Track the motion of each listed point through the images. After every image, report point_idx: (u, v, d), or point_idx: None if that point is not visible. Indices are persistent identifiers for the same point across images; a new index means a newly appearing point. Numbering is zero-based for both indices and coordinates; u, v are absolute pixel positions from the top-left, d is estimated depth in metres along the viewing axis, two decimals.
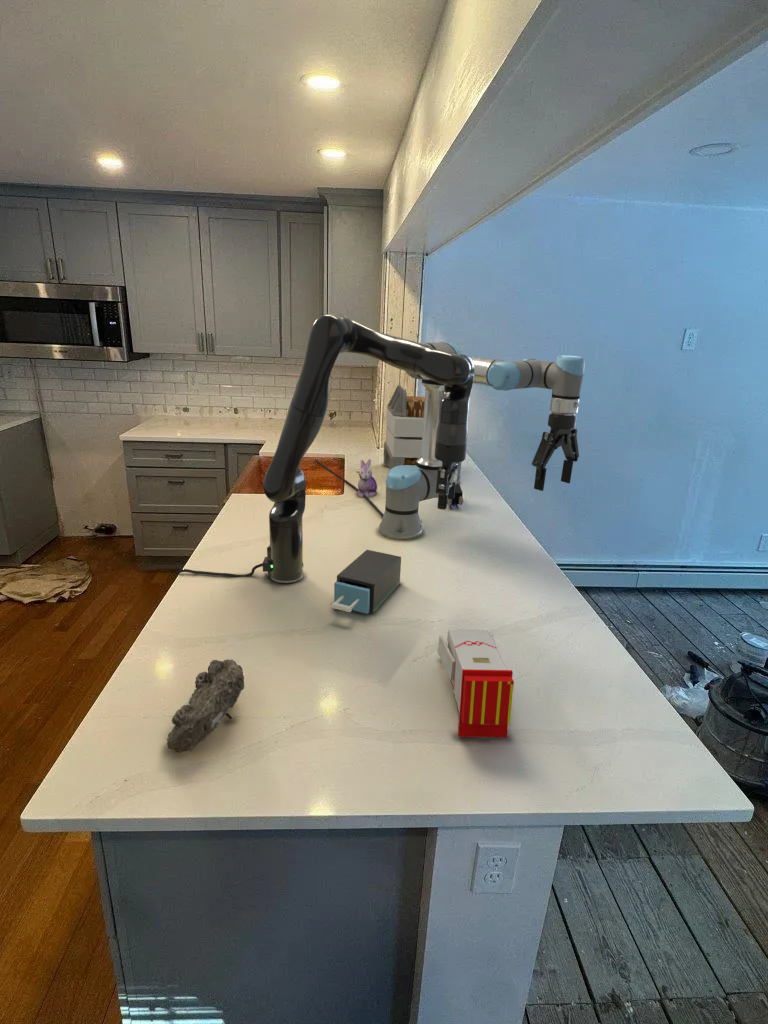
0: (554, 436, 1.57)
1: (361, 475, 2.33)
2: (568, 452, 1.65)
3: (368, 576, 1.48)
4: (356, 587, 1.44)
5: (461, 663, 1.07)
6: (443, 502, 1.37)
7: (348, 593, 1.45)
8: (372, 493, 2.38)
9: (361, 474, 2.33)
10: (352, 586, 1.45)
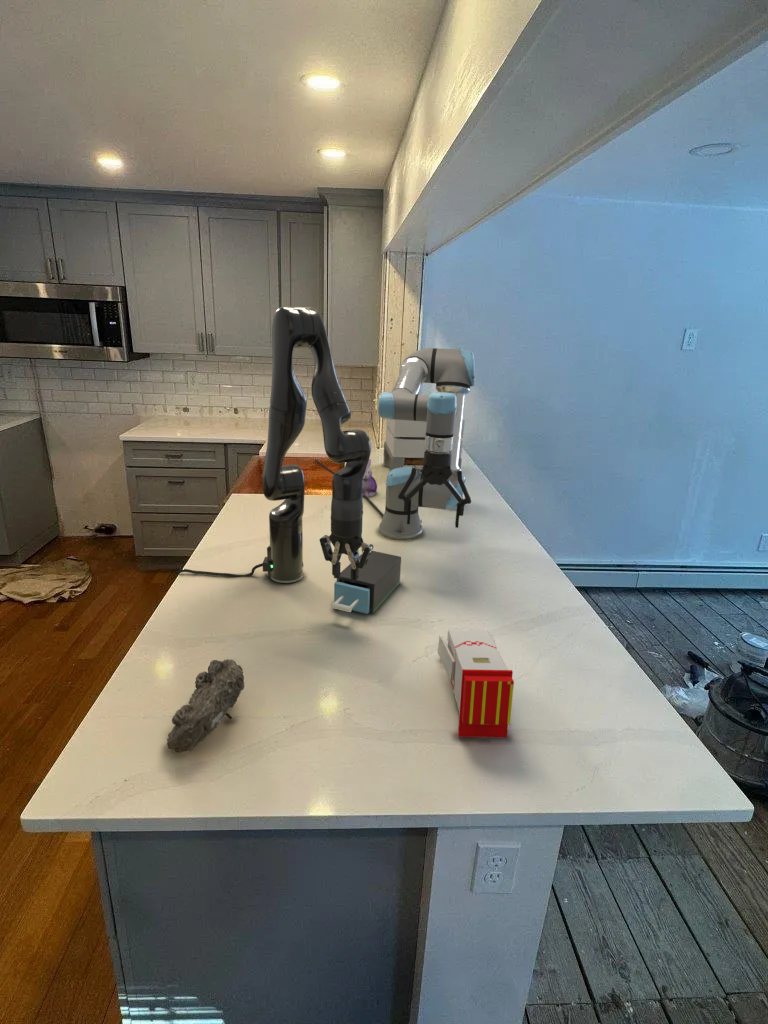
0: (421, 472, 1.55)
1: None
2: None
3: (368, 576, 1.48)
4: (356, 587, 1.44)
5: (461, 663, 1.07)
6: (358, 573, 1.39)
7: (348, 593, 1.45)
8: (372, 493, 2.38)
9: None
10: (352, 586, 1.45)
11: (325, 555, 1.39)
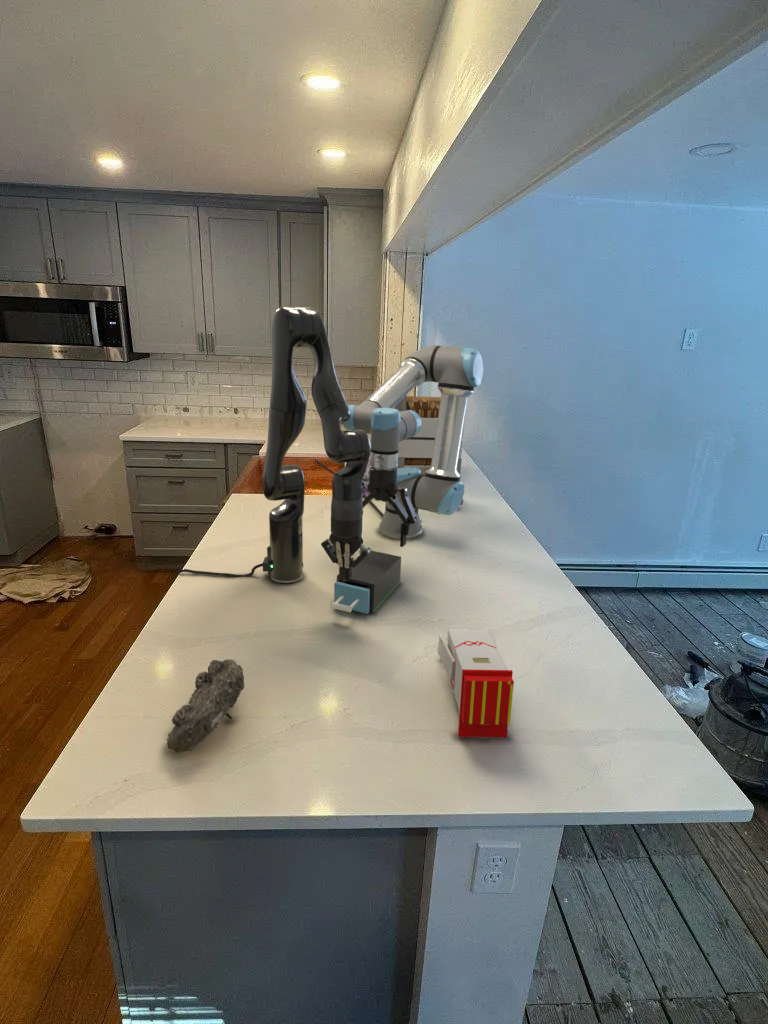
0: None
1: None
2: None
3: (368, 576, 1.48)
4: (356, 587, 1.44)
5: (461, 663, 1.07)
6: (351, 572, 1.40)
7: (348, 593, 1.45)
8: None
9: None
10: (352, 586, 1.45)
11: (331, 557, 1.38)
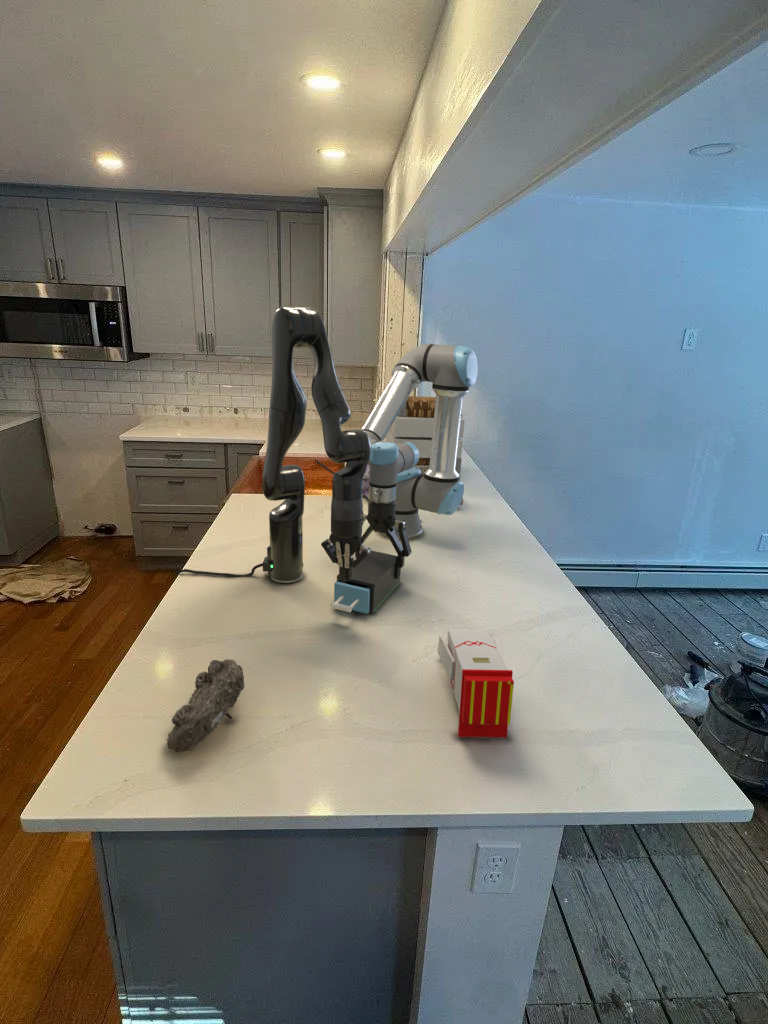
0: (366, 518, 1.57)
1: None
2: None
3: (368, 576, 1.48)
4: (356, 587, 1.44)
5: (461, 663, 1.07)
6: (351, 572, 1.40)
7: (348, 593, 1.45)
8: None
9: None
10: (352, 586, 1.45)
11: (331, 557, 1.38)
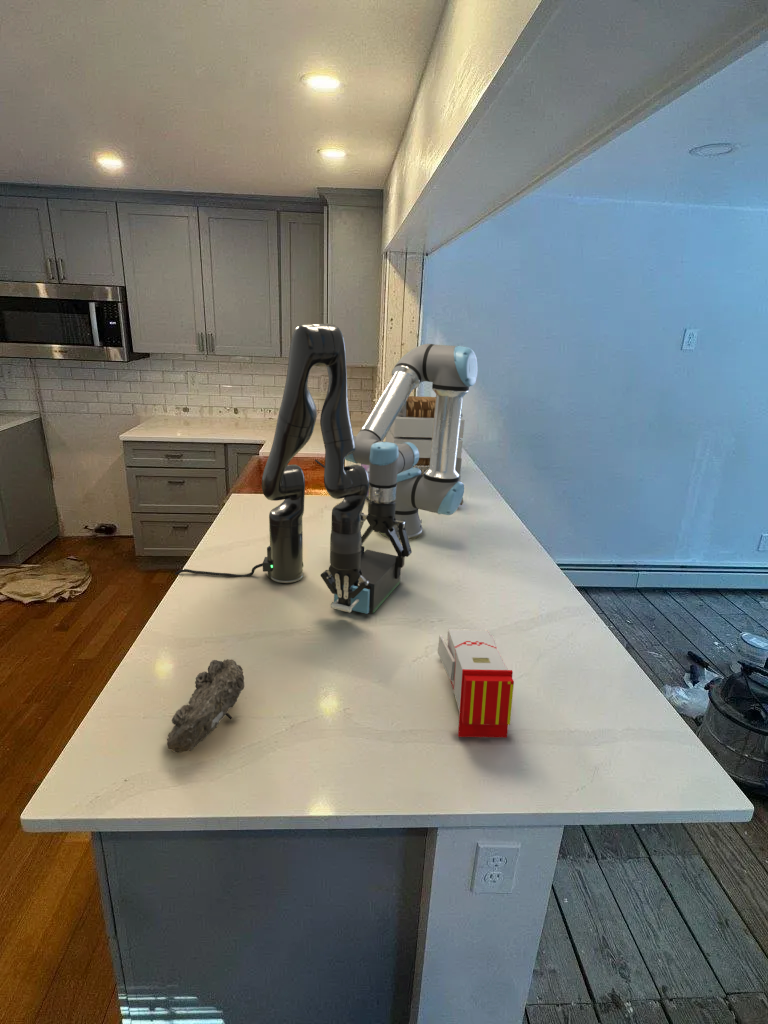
0: (366, 518, 1.57)
1: None
2: None
3: (368, 576, 1.48)
4: (356, 587, 1.44)
5: (461, 663, 1.07)
6: (350, 602, 1.42)
7: None
8: None
9: None
10: None
11: (331, 588, 1.41)
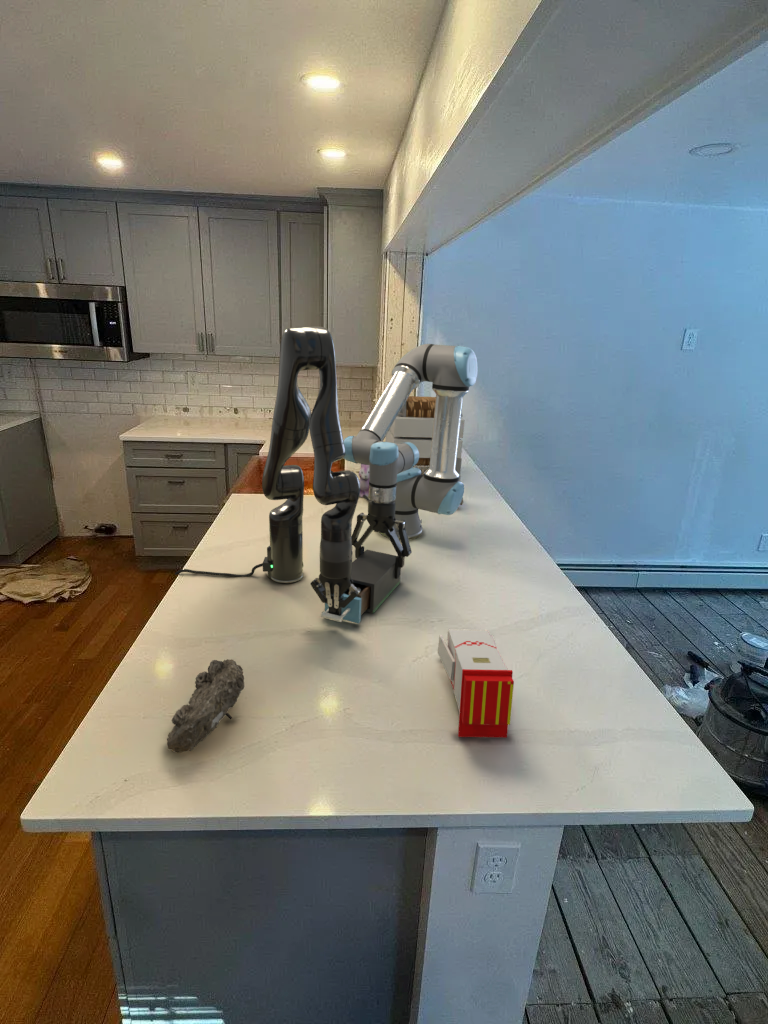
0: (366, 518, 1.57)
1: (361, 475, 2.33)
2: None
3: (368, 576, 1.48)
4: (347, 596, 1.40)
5: (461, 663, 1.07)
6: (341, 612, 1.38)
7: None
8: None
9: (361, 474, 2.33)
10: None
11: (321, 597, 1.36)
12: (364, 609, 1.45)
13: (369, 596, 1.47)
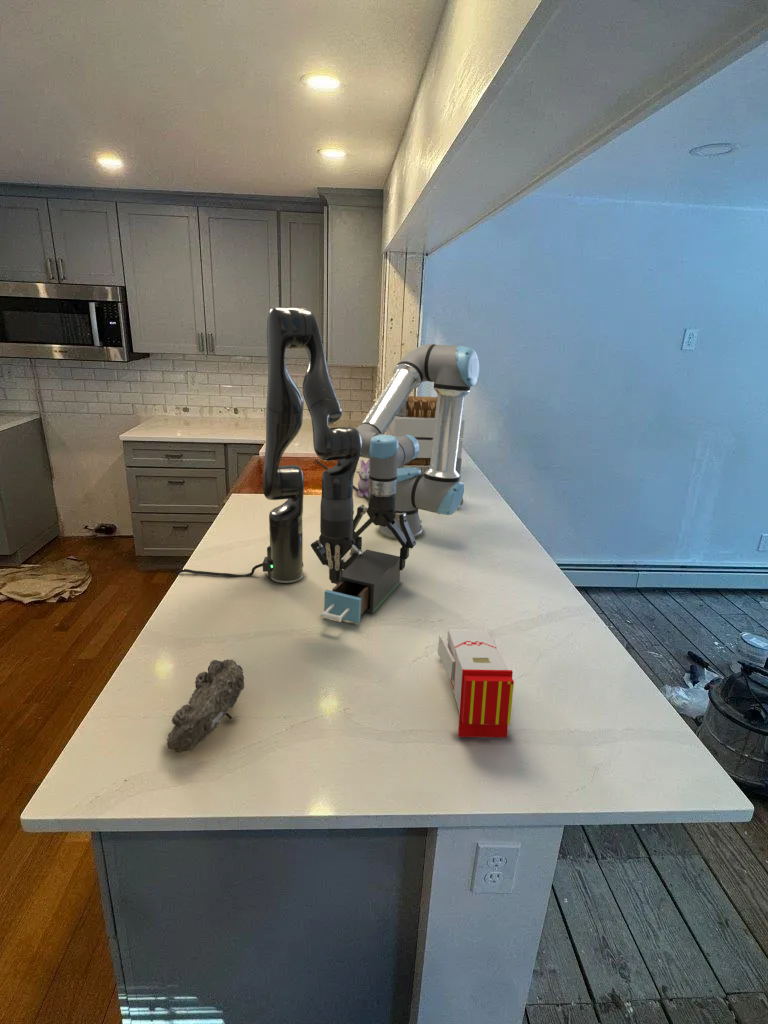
0: (367, 512, 1.57)
1: (361, 475, 2.33)
2: None
3: (367, 576, 1.48)
4: (347, 596, 1.40)
5: (461, 663, 1.07)
6: (341, 575, 1.34)
7: (339, 602, 1.41)
8: None
9: (361, 474, 2.33)
10: (343, 595, 1.40)
11: (321, 559, 1.33)
12: (364, 609, 1.45)
13: (369, 596, 1.47)
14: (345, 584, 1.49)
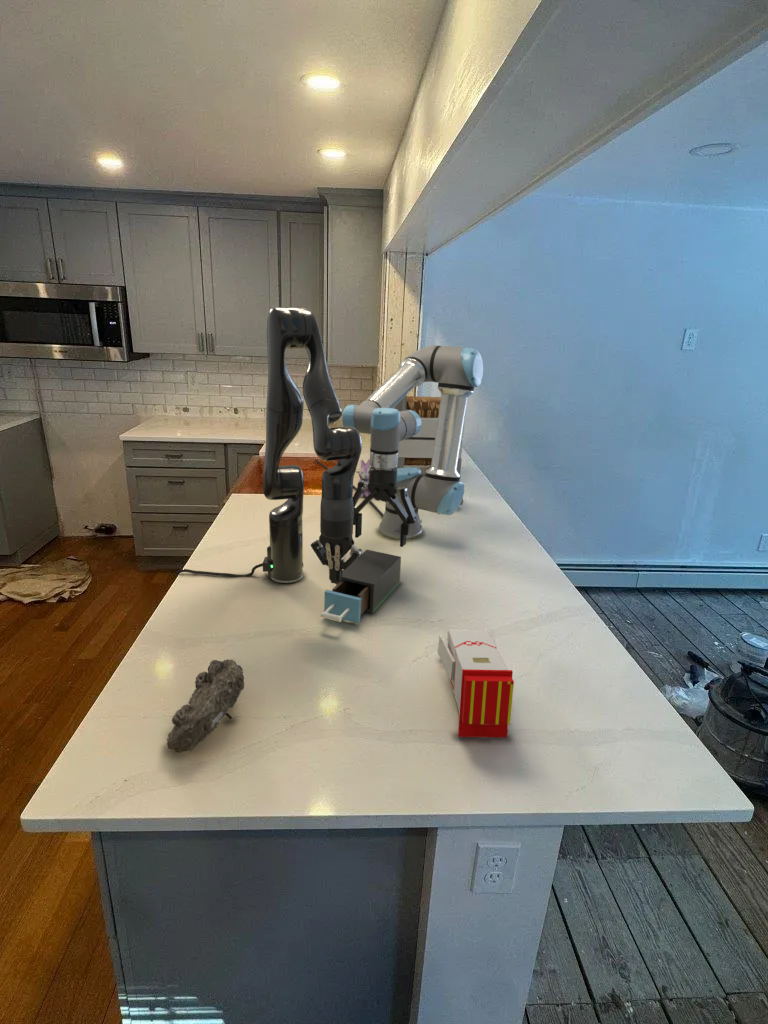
0: None
1: (361, 475, 2.33)
2: None
3: (367, 576, 1.48)
4: (347, 596, 1.40)
5: (461, 663, 1.07)
6: (341, 575, 1.34)
7: (339, 602, 1.41)
8: None
9: (361, 474, 2.33)
10: (343, 595, 1.40)
11: (321, 559, 1.33)
12: (364, 609, 1.45)
13: (369, 596, 1.47)
14: (345, 584, 1.49)
